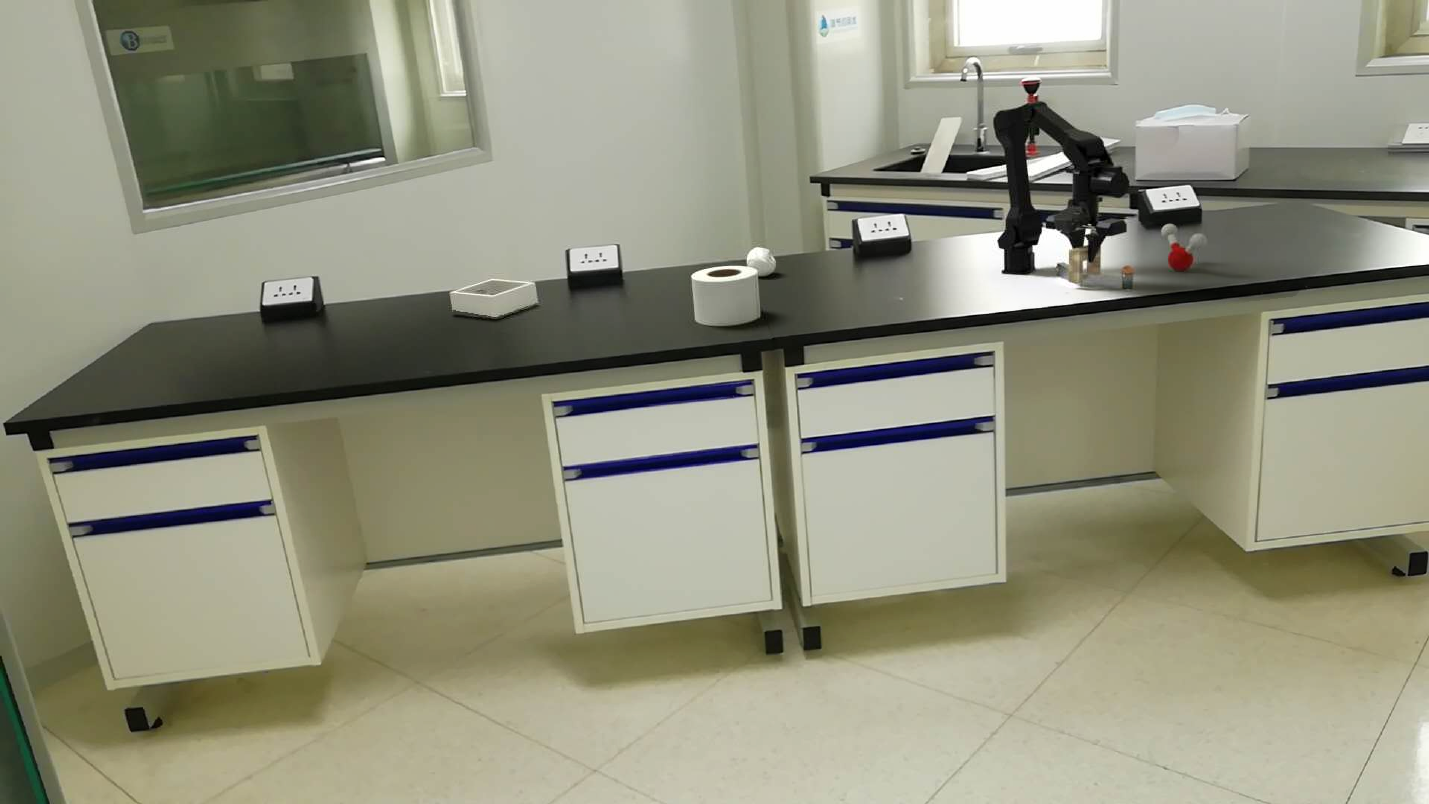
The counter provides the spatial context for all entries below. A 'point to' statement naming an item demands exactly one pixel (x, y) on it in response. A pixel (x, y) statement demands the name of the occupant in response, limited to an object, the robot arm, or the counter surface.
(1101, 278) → the bent rail
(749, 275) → the toilet paper roll
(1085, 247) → the arch
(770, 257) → the crumpled paper ball
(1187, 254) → the molecular model
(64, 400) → the counter surface
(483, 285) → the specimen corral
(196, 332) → the counter surface
